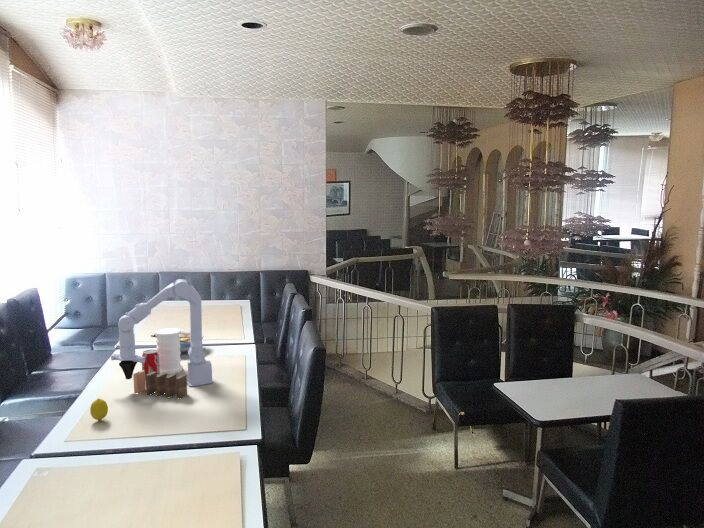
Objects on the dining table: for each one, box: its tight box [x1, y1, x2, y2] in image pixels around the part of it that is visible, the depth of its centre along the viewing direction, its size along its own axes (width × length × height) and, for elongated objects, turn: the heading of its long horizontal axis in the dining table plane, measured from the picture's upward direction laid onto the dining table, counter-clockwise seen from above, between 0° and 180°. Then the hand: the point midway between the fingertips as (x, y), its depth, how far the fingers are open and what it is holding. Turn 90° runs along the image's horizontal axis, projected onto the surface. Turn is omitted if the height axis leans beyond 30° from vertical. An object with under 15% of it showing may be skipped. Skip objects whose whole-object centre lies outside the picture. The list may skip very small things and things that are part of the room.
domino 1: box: [145, 372, 157, 396], centre depth 215 cm, size 2×5×8 cm, turn 164°
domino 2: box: [155, 373, 168, 397], centre depth 214 cm, size 2×5×8 cm, turn 164°
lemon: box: [89, 398, 109, 422], centre depth 189 cm, size 6×6×8 cm
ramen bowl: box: [150, 331, 205, 354], centre depth 274 cm, size 25×23×8 cm
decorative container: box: [154, 327, 184, 375], centre depth 243 cm, size 12×12×18 cm
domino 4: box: [175, 374, 188, 400], centre depth 212 cm, size 2×5×8 cm, turn 164°
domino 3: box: [165, 373, 178, 398], centre depth 213 cm, size 2×5×8 cm, turn 164°
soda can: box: [141, 349, 160, 381], centre depth 232 cm, size 7×7×12 cm
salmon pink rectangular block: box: [132, 369, 146, 394], centre depth 217 cm, size 2×5×8 cm, turn 164°
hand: (129, 378), depth 218 cm, fingers closed
